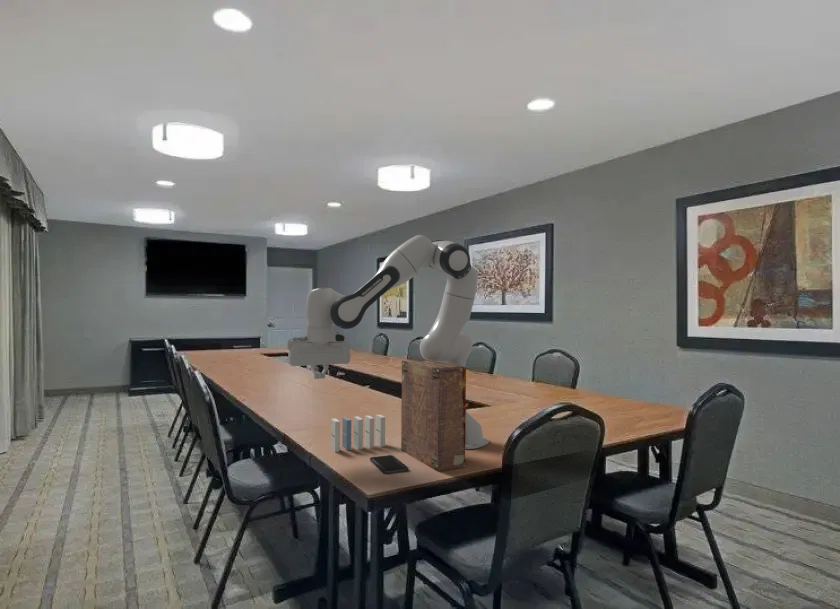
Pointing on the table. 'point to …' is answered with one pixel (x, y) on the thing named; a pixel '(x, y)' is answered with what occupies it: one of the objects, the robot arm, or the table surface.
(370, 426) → the domino
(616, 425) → the table surface
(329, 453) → the table surface
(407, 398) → the book
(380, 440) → the domino
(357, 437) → the domino
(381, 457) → the phone
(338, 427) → the domino
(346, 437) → the domino
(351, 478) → the table surface
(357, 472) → the table surface
